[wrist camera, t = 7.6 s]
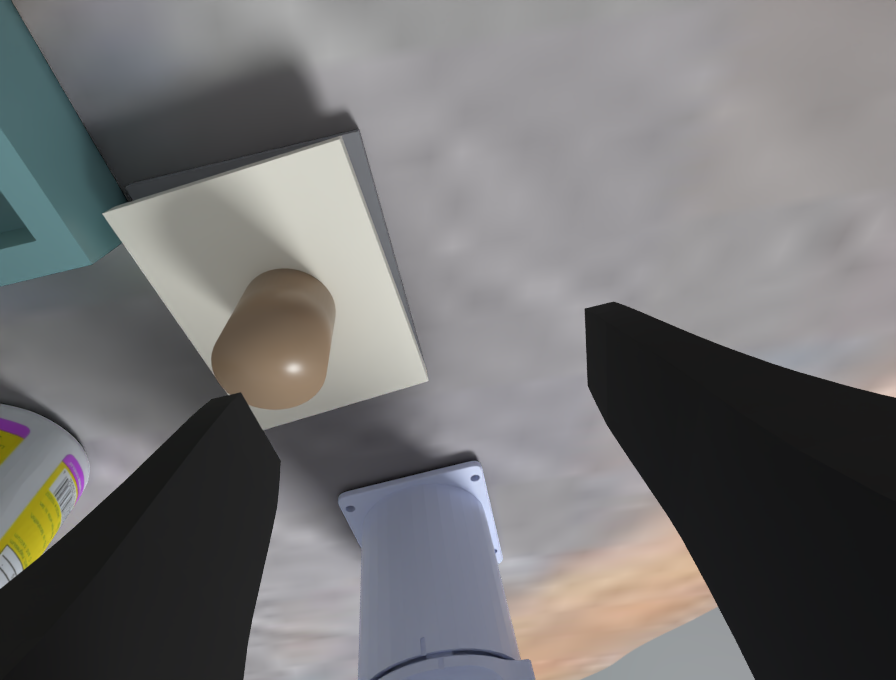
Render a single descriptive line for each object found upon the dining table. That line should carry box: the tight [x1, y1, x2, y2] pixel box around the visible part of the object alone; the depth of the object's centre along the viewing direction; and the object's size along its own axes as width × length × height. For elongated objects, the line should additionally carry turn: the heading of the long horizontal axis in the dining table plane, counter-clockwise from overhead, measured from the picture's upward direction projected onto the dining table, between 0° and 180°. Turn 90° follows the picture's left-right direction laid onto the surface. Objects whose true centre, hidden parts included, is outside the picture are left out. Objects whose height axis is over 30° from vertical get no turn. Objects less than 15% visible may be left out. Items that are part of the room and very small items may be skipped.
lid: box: [102, 136, 428, 430], centre depth 16 cm, size 10×8×5 cm
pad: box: [125, 129, 424, 361], centre depth 18 cm, size 10×8×1 cm
